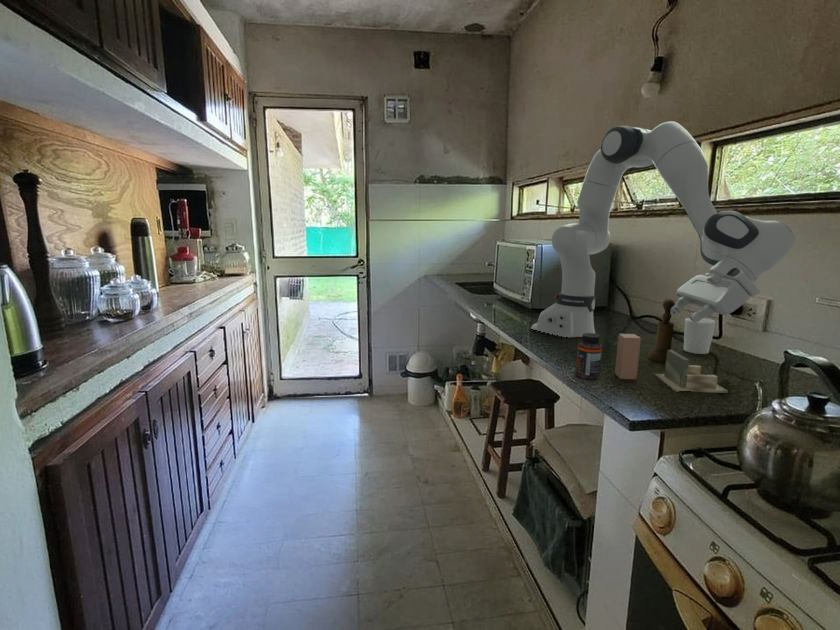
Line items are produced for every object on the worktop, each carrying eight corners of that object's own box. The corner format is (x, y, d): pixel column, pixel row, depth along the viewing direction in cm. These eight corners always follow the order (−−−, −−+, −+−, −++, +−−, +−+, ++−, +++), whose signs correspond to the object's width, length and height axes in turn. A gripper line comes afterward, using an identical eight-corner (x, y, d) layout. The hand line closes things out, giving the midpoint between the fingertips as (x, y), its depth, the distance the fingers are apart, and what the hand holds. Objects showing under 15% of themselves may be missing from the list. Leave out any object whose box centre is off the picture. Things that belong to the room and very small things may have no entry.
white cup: (715, 355, 133) (720, 323, 131) (686, 354, 134) (691, 322, 132) (704, 348, 140) (708, 318, 138) (677, 347, 142) (681, 316, 140)
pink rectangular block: (630, 374, 117) (634, 334, 114) (636, 379, 113) (640, 338, 111) (614, 373, 117) (618, 333, 115) (620, 378, 113) (624, 337, 111)
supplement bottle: (571, 372, 118) (574, 331, 115) (592, 372, 118) (596, 331, 116) (581, 380, 112) (584, 337, 109) (603, 379, 112) (607, 337, 110)
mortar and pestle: (644, 357, 131) (651, 298, 127) (659, 355, 133) (666, 296, 129) (664, 364, 125) (671, 302, 121) (679, 361, 127) (687, 300, 124)
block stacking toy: (702, 376, 115) (706, 349, 113) (727, 392, 104) (732, 362, 102) (654, 375, 116) (657, 348, 114) (675, 391, 105) (679, 361, 103)
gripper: (697, 264, 118) (655, 299, 120) (747, 273, 98) (695, 315, 100) (712, 281, 118) (670, 316, 121) (765, 293, 98) (713, 334, 101)
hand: (682, 315), depth 111 cm, fingers open, 8 cm apart
